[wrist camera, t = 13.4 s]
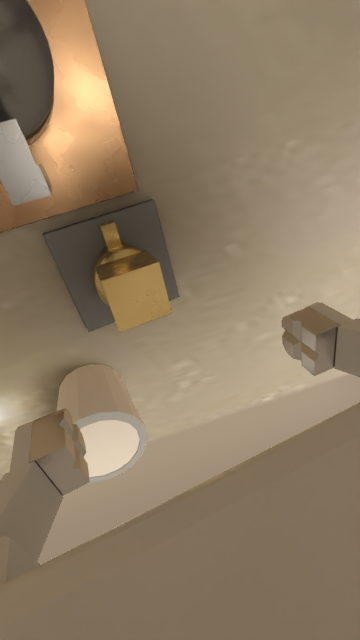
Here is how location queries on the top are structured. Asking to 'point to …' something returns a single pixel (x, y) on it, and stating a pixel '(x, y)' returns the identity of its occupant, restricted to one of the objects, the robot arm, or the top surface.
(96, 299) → the mat
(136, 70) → the top surface
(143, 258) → the cap
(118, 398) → the white cylinder
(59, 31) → the drum on wooden base
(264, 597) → the robot arm
